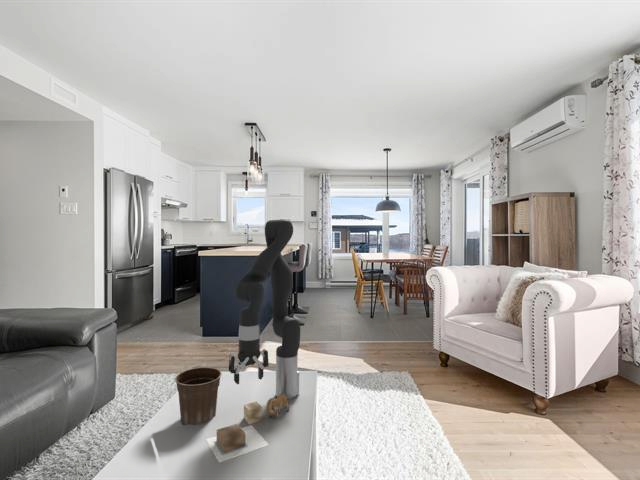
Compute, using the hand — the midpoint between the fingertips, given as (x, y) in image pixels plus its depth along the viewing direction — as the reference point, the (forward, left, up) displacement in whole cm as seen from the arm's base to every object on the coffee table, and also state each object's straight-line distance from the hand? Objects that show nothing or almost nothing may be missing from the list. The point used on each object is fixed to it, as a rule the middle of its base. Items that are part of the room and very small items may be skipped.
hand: (248, 381), depth 126 cm
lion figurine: (-11, +3, -15) cm, 19 cm away
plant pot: (+15, -12, -15) cm, 24 cm away
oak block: (-1, +1, -15) cm, 15 cm away
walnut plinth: (+11, +12, -14) cm, 21 cm away
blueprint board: (+9, +12, -15) cm, 21 cm away
